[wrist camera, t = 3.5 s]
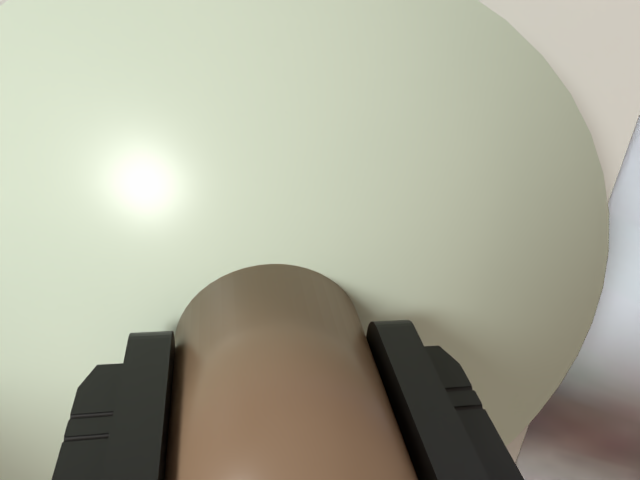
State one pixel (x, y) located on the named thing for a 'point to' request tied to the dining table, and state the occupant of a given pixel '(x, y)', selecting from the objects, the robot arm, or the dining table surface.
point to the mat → (586, 71)
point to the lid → (285, 220)
